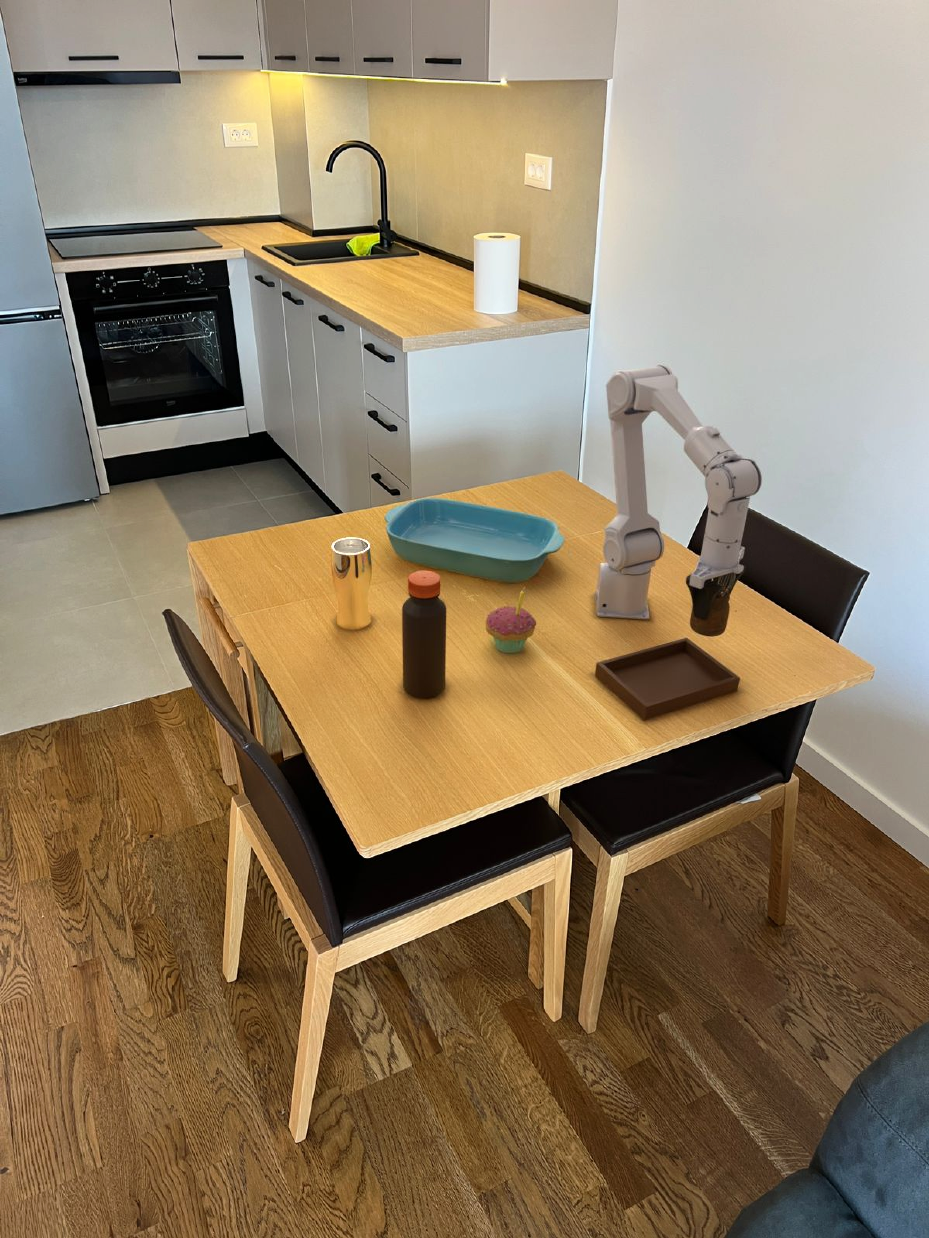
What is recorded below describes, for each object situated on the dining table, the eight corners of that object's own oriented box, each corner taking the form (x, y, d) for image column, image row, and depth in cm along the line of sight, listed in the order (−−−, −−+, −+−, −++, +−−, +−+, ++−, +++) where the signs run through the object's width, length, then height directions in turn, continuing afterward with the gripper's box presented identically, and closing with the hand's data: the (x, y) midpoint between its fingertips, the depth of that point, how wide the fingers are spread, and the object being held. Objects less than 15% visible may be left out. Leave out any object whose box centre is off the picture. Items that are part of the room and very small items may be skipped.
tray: (644, 720, 145) (646, 707, 143) (594, 675, 155) (596, 662, 154) (737, 691, 152) (740, 677, 151) (684, 650, 162) (686, 637, 161)
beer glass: (380, 616, 169) (378, 542, 162) (360, 635, 164) (357, 558, 156) (347, 608, 172) (343, 533, 164) (326, 625, 166) (322, 549, 159)
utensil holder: (732, 636, 153) (745, 571, 147) (696, 639, 152) (708, 574, 146) (715, 617, 158) (728, 554, 152) (681, 621, 157) (692, 557, 151)
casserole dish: (573, 550, 195) (576, 518, 191) (544, 599, 177) (547, 565, 173) (409, 520, 205) (409, 490, 201) (366, 564, 187) (365, 532, 183)
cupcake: (539, 639, 164) (544, 578, 158) (526, 664, 157) (530, 602, 151) (492, 629, 167) (495, 570, 160) (477, 654, 160) (479, 592, 153)
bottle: (417, 671, 155) (417, 563, 144) (453, 683, 152) (455, 574, 142) (394, 691, 150) (392, 581, 139) (430, 704, 147) (431, 593, 136)
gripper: (725, 558, 140) (710, 636, 146) (767, 528, 149) (752, 602, 156) (683, 544, 143) (670, 620, 150) (726, 515, 153) (713, 588, 160)
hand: (709, 610), depth 153 cm, fingers closed on utensil holder, 6 cm apart
